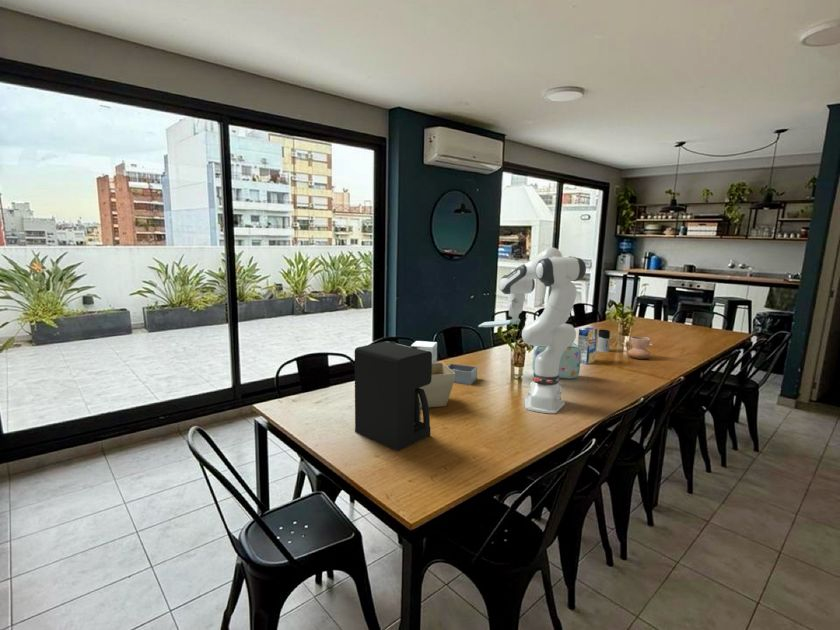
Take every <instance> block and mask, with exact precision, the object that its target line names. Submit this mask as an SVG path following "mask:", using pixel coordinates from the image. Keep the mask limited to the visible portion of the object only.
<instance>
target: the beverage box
mask: <svg viewBox="0 0 840 630" xmlns="http://www.w3.org/2000/svg"><path fill="white" fill-rule="evenodd" d="M597 340H598V328H595V327H588V326H587V327H583V328H579V329H578V340H577V346H578V347H579V348H580V350H581V360H580V364H582V363H583V365H589V364H592V363H595V361H596V352H597V351H596V350H597Z"/></svg>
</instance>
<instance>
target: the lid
mask: <svg viewBox="0 0 840 630" xmlns="http://www.w3.org/2000/svg"><path fill="white" fill-rule="evenodd" d="M516 323H521V319H520V318H518V319H516ZM516 323H515V324H516ZM510 324H514V323H513V319H503V320H496V321H493V320H492V321H484V322H482V323H480V324H479V325H478V328H493V327H495V328H496V327H506V326H507V325H510Z"/></svg>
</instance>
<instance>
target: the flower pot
mask: <svg viewBox="0 0 840 630" xmlns="http://www.w3.org/2000/svg"><path fill="white" fill-rule="evenodd" d="M447 366H448V365H446V364H445V363H444V362H437V363H432V379H431V383H430V384H428V385H426V386H423V387H420V388H421V389H424V392H425V394H426V398H427V401H428V407H429V408H437V407H438V408H440V407H445V406H447V403H448V401H449V399H450V396H451V393H452V390H453V385H454V377H455V373H454V372H453V371H452V370H451V369H450V368H448V367H447ZM418 396H419V394H418ZM419 402H420V403H421V400H420V396H419ZM421 409H422V404H421Z"/></svg>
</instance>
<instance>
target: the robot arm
mask: <svg viewBox="0 0 840 630" xmlns="http://www.w3.org/2000/svg"><path fill="white" fill-rule="evenodd" d="M586 273H587V266H586V262H585V261H584V260H583V259H582V258H580V257H577V256H563V255H562V253H561V251H560V250H559V249H558V248H556V247H547V248H545V249H544V250H542V251H541V252H539V253H538V254H537V255H536V256H535V257H534V258H532V259H531V260H529V261H527V262H526V263H524V264H522V265H519V266H518V267H515V268H512V269H510V272H509V273H508V274H505V275H502V276H501V278H500V279H499V283H498V288H499V290H500V292H501V293H503V294H504V295H508V296H507V300H508V301H509V302H510V303H509V308H508V316H509V317H511V318H512V319H513V323H512V324H516V319H519V316H520V314H521V313H522V312H523V309H524V303H525V301H526V295H527V294H531V293H532V292H533V291H534V290H535V288H536V280H538V281H540V282H541V283H542V284H544V286H545V287H548V288H549V287H551V291H550V294H549V297H548V299H547V302H546V305H545V307H544V309H543V311H542V313H541V314H540V315H539V316H538V317H537V318H536V319H535V320H533V321H532V322H529V323H528V324H526V325H524V326H523V329H522V330H521V338H522V341H523V342H524V344H525V345H529V346H533V347H534V346H547V348H546V349H545V350H544V351H543V352H542V353H540V354H538V355H537V357H536V359H535V372H534V371H533V375H532V381H531V382H529V391H528V392H527V395H526V396H524V408H525V410H529V411H532V412H537V413H543V414H556V413H558V412H559V411H560V410H561V409H562V408H563V407H564V406H565V405H566V404H565V401H562V386H561V385H560V379H559V374H558V371H559V363H560V358H561V356H562V354H563V352H564V350H565V349H566V348H567V347H568V346H569V345H571V344H572V343H575V340H576V338H577V331H576V328H575V327H574V326H573V325H572V324H570V323H567V321H568V320H569V318H570V315H571V312H572V311H573V308H574V305H575V301H576V297H577V293H578V292H577V290H578V289H577V286H576V284H574V283H573V282H576V281H580V280H582V279H583V278H584V277H585V276H586ZM572 281H573V282H572Z"/></svg>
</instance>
